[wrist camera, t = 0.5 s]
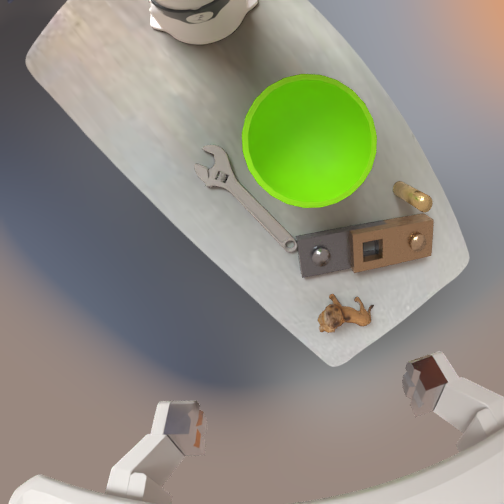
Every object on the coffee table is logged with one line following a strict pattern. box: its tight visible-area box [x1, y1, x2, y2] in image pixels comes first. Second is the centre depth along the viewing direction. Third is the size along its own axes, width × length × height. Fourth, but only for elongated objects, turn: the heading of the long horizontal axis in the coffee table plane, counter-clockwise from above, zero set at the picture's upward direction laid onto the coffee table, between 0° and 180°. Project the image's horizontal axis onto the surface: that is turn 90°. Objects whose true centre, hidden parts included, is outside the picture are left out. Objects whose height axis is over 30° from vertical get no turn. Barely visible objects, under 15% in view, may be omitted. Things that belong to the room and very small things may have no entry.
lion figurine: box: [318, 294, 374, 333], centre depth 59 cm, size 15×5×9 cm, turn 86°
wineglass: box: [242, 74, 377, 208], centre depth 40 cm, size 16×16×18 cm
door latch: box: [296, 213, 433, 278], centre depth 54 cm, size 8×28×5 cm, turn 101°
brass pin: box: [393, 181, 432, 212], centre depth 47 cm, size 3×3×10 cm
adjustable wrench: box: [194, 145, 297, 252], centre depth 53 cm, size 25×6×2 cm, turn 38°
